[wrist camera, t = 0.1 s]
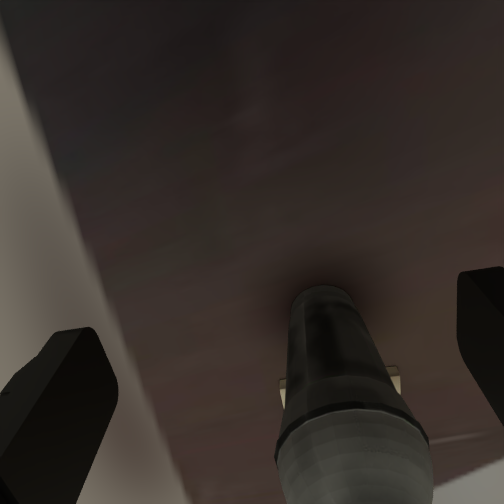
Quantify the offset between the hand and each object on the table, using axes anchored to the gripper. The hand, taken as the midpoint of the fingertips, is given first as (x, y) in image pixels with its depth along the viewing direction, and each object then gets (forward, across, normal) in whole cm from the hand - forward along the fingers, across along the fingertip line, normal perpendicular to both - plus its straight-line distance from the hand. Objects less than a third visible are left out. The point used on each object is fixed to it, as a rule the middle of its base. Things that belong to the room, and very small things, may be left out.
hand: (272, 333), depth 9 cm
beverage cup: (+18, -2, +12) cm, 22 cm away
